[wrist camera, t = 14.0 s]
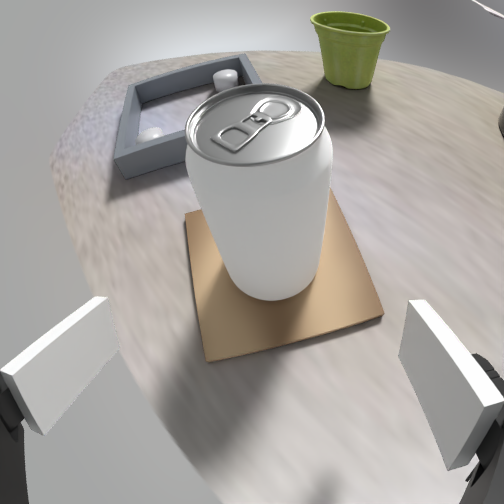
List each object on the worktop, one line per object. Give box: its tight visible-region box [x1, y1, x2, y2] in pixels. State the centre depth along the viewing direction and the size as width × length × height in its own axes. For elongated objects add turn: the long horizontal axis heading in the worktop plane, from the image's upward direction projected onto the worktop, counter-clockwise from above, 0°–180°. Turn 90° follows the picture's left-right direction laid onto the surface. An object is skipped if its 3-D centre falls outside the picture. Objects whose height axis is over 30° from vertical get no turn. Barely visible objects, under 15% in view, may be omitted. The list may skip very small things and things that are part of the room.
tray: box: [114, 54, 262, 179], centre depth 31 cm, size 16×16×3 cm
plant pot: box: [310, 12, 390, 89], centre depth 30 cm, size 9×9×9 cm
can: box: [185, 83, 333, 301], centre depth 17 cm, size 6×6×12 cm
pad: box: [185, 188, 385, 362], centre depth 22 cm, size 12×12×1 cm
